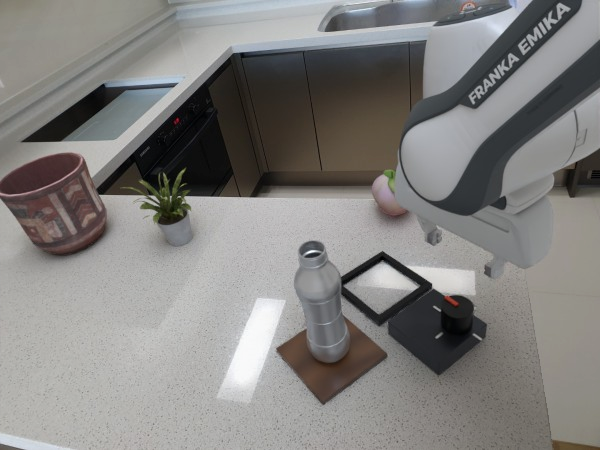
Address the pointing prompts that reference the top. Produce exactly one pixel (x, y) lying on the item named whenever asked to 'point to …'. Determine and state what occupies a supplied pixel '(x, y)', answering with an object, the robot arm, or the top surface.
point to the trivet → (336, 375)
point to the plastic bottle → (321, 303)
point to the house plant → (170, 211)
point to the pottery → (55, 202)
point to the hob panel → (433, 333)
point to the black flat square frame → (398, 306)
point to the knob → (457, 314)
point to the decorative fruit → (386, 193)
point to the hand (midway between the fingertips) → (461, 257)
